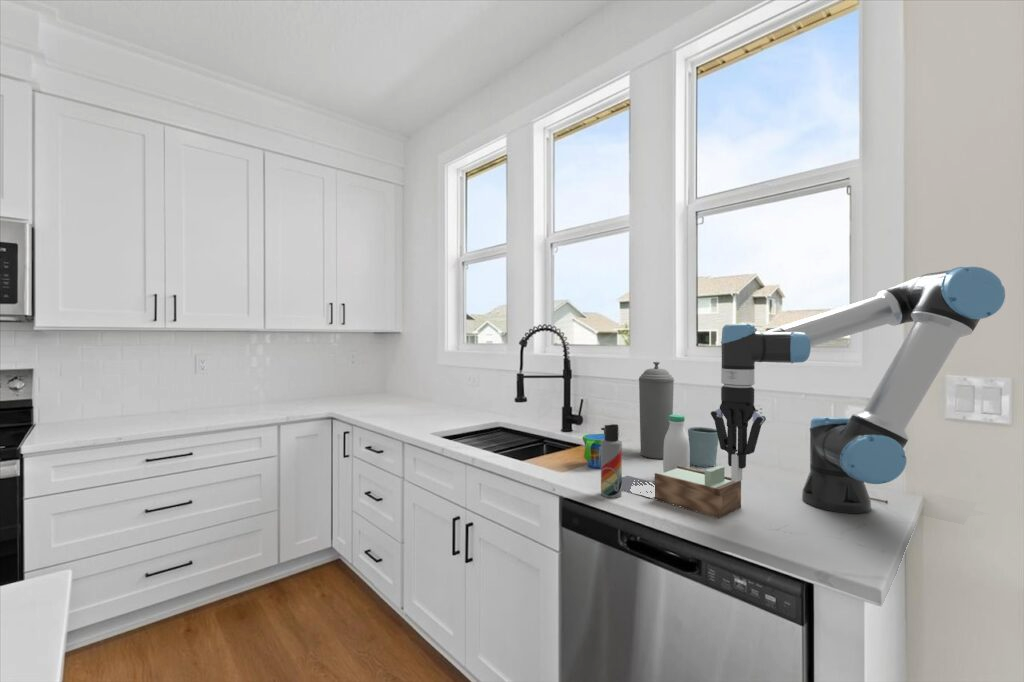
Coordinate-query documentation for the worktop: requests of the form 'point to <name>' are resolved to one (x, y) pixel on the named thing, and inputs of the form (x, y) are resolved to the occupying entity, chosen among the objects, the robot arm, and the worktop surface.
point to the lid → (701, 476)
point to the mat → (629, 480)
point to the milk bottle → (676, 445)
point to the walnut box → (698, 494)
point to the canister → (655, 410)
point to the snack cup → (593, 449)
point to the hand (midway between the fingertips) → (736, 480)
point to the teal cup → (703, 446)
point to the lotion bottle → (611, 463)
